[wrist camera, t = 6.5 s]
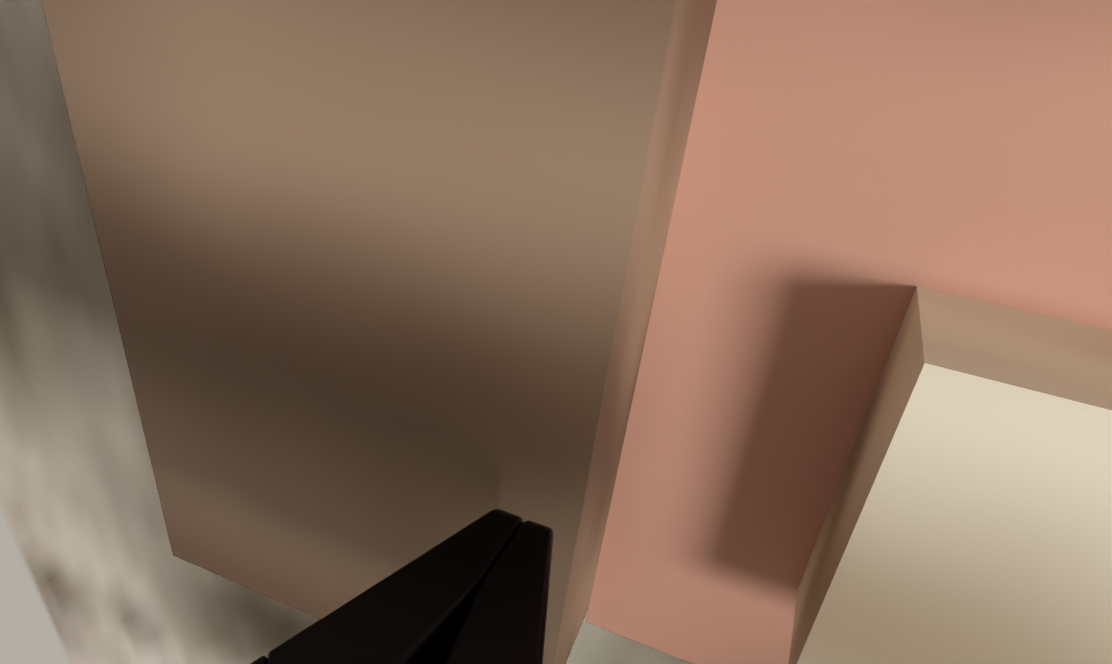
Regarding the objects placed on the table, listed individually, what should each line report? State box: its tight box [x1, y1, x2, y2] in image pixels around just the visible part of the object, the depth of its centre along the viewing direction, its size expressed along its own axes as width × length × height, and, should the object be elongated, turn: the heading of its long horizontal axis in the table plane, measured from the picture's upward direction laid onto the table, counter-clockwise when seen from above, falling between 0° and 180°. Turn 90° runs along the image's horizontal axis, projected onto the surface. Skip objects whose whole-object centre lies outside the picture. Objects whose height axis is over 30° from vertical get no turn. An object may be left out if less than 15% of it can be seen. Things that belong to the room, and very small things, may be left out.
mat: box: [586, 0, 1112, 664], centre depth 11 cm, size 13×9×1 cm
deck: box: [41, 0, 717, 664], centre depth 12 cm, size 12×8×3 cm, turn 173°
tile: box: [789, 286, 1112, 664], centre depth 10 cm, size 6×5×2 cm
